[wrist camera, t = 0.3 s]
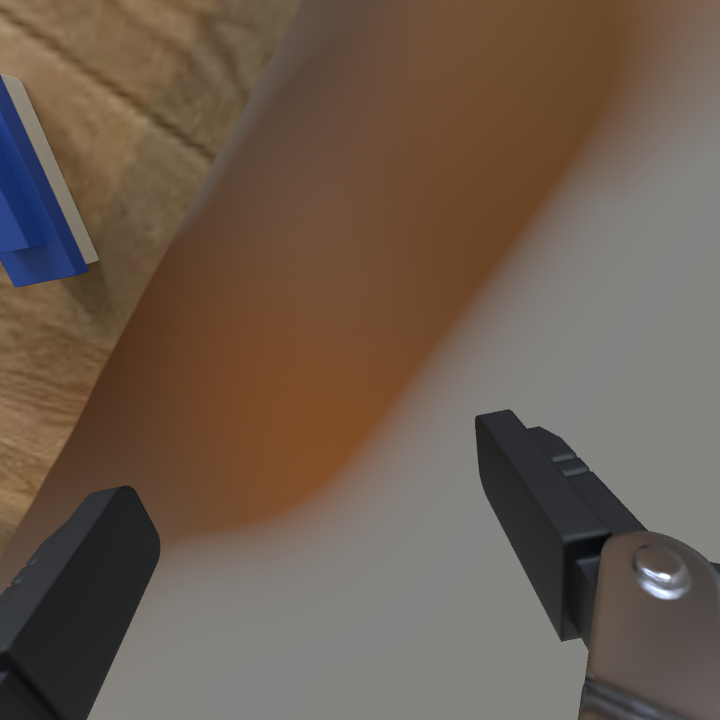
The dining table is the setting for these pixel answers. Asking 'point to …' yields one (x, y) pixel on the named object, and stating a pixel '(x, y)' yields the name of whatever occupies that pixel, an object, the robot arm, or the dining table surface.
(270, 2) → the dining table surface
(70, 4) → the dining table surface
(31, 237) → the brush
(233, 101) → the dining table surface
